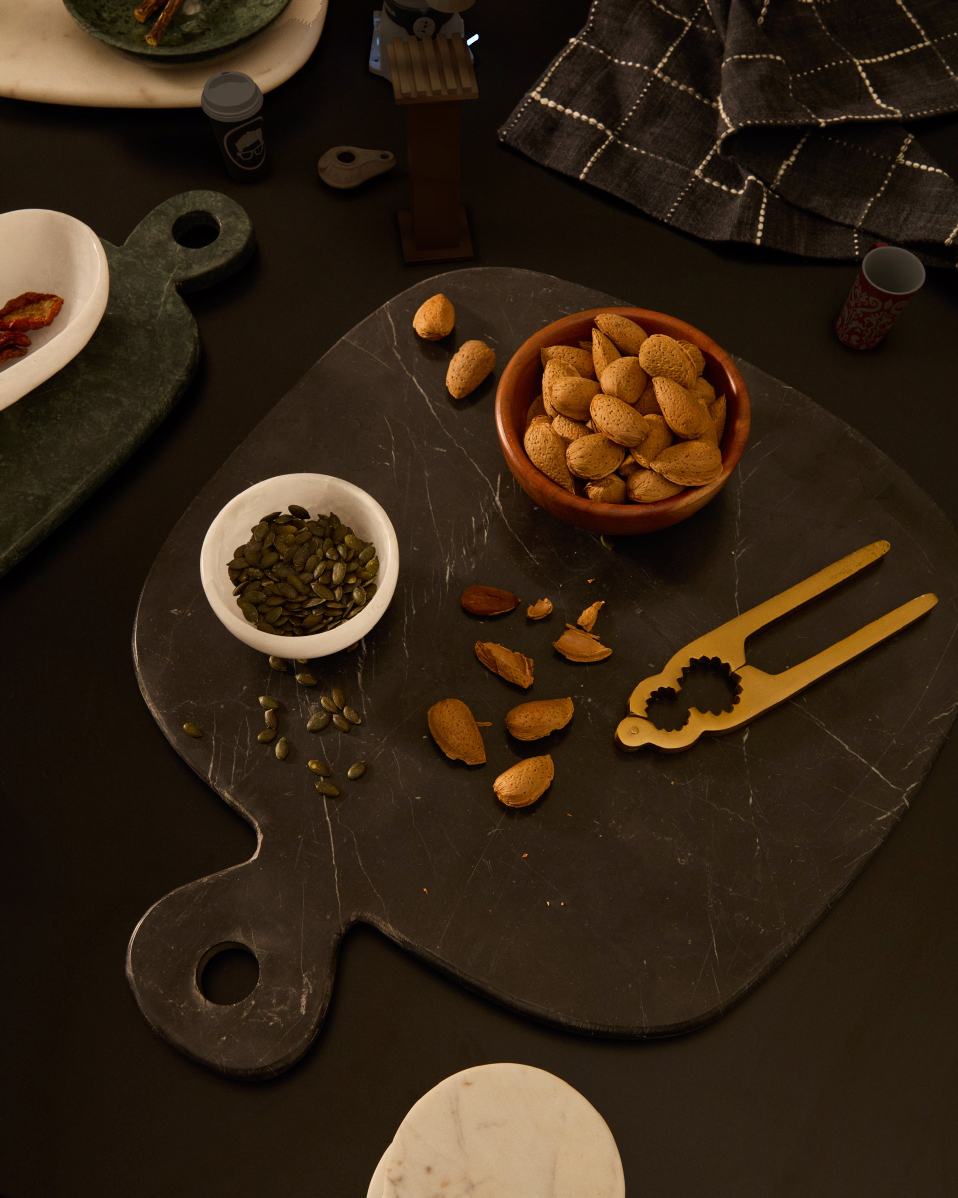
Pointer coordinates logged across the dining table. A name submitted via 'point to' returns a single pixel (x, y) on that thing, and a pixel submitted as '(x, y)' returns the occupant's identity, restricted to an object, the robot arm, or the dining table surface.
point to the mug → (878, 295)
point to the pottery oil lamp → (353, 166)
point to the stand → (434, 186)
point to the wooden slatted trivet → (431, 69)
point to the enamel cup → (450, 5)
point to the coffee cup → (237, 123)
